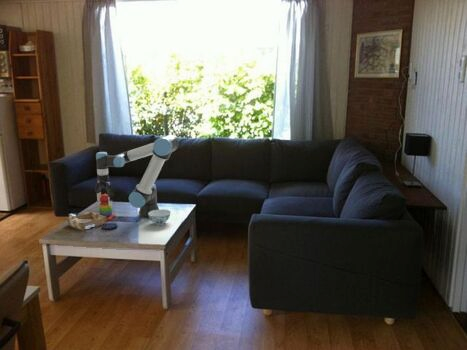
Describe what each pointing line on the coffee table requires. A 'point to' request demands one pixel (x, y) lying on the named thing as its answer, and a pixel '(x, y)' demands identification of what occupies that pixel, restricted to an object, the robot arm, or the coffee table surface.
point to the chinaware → (159, 216)
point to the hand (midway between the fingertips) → (105, 203)
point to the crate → (94, 218)
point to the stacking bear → (105, 207)
